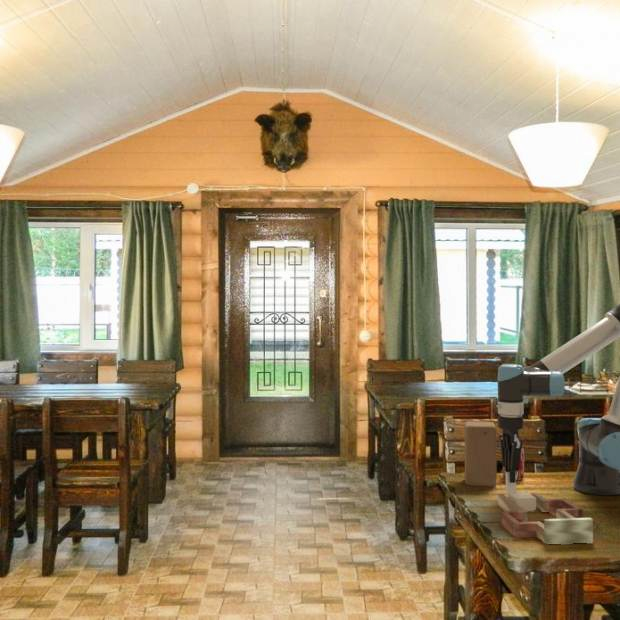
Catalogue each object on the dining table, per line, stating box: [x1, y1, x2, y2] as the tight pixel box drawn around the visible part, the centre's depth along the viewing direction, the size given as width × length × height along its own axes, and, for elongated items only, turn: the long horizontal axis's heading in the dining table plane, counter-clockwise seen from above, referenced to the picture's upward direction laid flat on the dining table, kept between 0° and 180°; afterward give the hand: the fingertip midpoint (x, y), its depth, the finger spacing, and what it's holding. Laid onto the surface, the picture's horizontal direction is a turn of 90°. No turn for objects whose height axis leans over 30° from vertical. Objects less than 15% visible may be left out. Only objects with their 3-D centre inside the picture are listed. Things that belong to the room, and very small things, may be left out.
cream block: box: [507, 491, 537, 512], centre depth 202 cm, size 6×6×4 cm
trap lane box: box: [497, 492, 594, 545], centre depth 188 cm, size 23×34×6 cm
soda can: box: [502, 446, 525, 481], centre depth 236 cm, size 7×7×12 cm
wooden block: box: [464, 420, 498, 488], centre depth 231 cm, size 10×10×20 cm
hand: (510, 492), depth 210 cm, fingers closed
